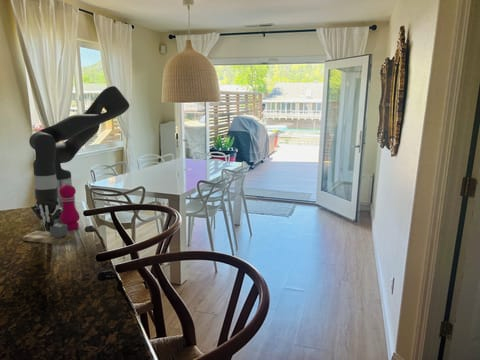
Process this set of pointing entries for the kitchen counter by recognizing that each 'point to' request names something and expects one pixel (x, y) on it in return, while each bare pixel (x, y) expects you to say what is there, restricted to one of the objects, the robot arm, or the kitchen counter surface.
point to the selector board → (46, 237)
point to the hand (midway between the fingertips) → (49, 230)
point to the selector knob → (58, 230)
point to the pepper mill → (69, 207)
